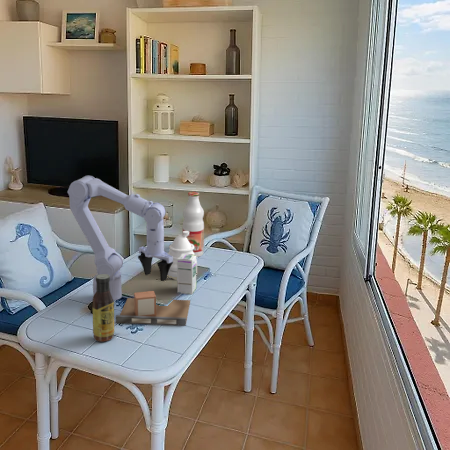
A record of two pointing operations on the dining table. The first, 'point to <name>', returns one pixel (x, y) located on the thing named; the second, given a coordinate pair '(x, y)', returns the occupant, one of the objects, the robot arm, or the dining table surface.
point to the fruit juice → (194, 223)
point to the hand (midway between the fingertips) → (155, 277)
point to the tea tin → (145, 303)
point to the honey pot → (179, 251)
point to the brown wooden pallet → (164, 314)
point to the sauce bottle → (103, 310)
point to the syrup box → (186, 273)
